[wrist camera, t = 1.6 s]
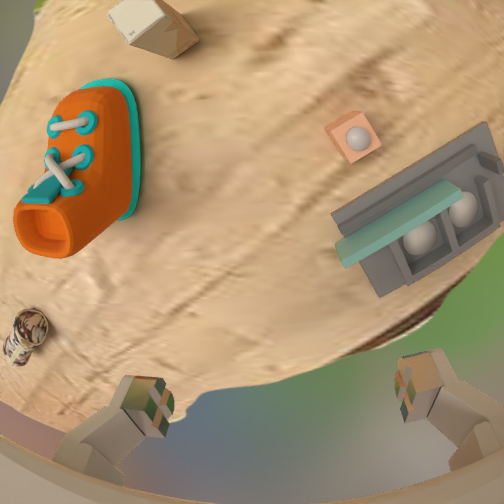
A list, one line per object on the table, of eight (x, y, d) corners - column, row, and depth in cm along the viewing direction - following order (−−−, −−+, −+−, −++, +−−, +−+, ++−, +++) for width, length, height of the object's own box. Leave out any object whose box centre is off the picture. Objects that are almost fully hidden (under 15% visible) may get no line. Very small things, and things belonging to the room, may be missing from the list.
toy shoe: (145, 74, 30) (70, 67, 17) (147, 218, 39) (89, 276, 26) (72, 86, 31) (-8, 94, 18) (79, 213, 40) (16, 261, 27)
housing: (482, 121, 27) (507, 127, 22) (508, 211, 32) (529, 226, 27) (330, 213, 36) (338, 232, 31) (377, 294, 41) (387, 319, 36)
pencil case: (30, 298, 51) (5, 325, 43) (56, 325, 54) (34, 354, 45) (13, 331, 59) (-5, 353, 51) (34, 352, 62) (17, 376, 53)
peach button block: (351, 110, 30) (364, 112, 25) (369, 139, 32) (384, 146, 26) (323, 127, 32) (331, 132, 27) (342, 155, 33) (352, 165, 28)
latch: (443, 178, 31) (460, 188, 27) (446, 186, 31) (463, 197, 27) (334, 244, 37) (340, 261, 33) (339, 251, 37) (345, 268, 33)
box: (201, 40, 28) (167, 17, 18) (171, 60, 29) (128, 47, 19) (179, 12, 26) (140, -17, 16) (151, 32, 27) (104, 13, 17)
